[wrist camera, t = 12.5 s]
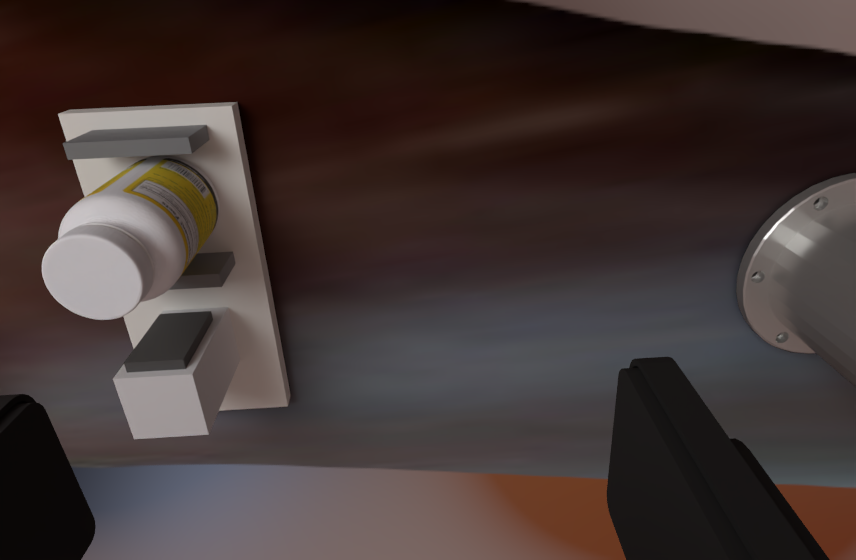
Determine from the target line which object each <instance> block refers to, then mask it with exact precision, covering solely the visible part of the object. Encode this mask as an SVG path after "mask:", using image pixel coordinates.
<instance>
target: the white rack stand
mask: <svg viewBox="0 0 856 560" xmlns="http://www.w3.org/2000/svg"><path fill="white" fill-rule="evenodd" d="M58 116H59V119H60V122H61V125H62V128H63V131H64V134H65V137H66V141H67V142H65V143H63V146H64V149H65V152H66V155H67V158H68V160H73V162H74V165H75V168H76V172H77V175H78V178H79V181H80V184H81V187H82V190H83V193H84V196H85V197H86V196H87V195H89V194H90V193H92V192H93V191H95V190H96V189H97V188H99V187H100V186H102V185H103V184H105V183H106V182H108V181H109V180H110V179H112V178H113V177H115V176H116V175H118V174H119V173H121V172H122V171H124V170H125V169H126V168H128V167H129V166H131V165H132V164H134V163H136V162H138V161H139V160H142V159H144V158H147V157H151V156H158V155H165V156H172V157H177V158H180V159H183V160H185V161H187V162H189V163H191V164H193V165H194V166H196V167H197V168H199V169H200V170H201V171H202V172H203V173H204V174H205V175H206V176H207V177H208V178H209V180H210V181H211V183H212V184H213V186H214V188H215V190H216V192H217V195H218V199H219V206H220V212H219V218H218V221H217V224H216V226H215V228H214V230H213V232H212V233H211V235H210V236H209V238H208V239H207V240H206V242H205V243H204V245H203V246H202V247H201V249H200V250H199V251H198V253H197V254H196V256H195V257H194V258H193V260H192V261H191V262H190V264H189V265H188V267H187V268H186V269H185V271H184V272H183V274H182V275H181V276H180V278H179V279H178V280H177V281H176V283H175V284H174V285H173V286H172V287H171V288H170V289H169V290H168V291H167V292H165V293H164V294H162V295H160V296H158V297H156V298H154V299H151V300H148V301H143V302H140V303H139V304H138V306H137V307H136V308H135V309H134V310H132V311H131V312H130V313H128V314H126V315H125V316H123V317H124V320H125V323H126V326H127V330H128V333H129V336H130V339H131V342H132V345H133V348H134V350H133V351H132V353H131V354H130V355H129V357H128V358H127V359H126V361H125V362H124V365H123V366H122V367H121V369H120V370H119V371H118V373H117V374H116V376H115V377H114V378H113V381H114V384H115V386H116V389H117V392H118V395H119V398H120V401H121V403H122V406H123V409H124V412H125V415H126V418H127V420H128V423H129V426H130V429H131V432H132V435H133V437H134V439H145V438H161V437H177V436H193V435H209V433H210V430H211V428H212V426H213V423H214V421H215V419H216V416H217V414H218V412H219V411H222V410H238V409H254V408H270V407H287V406H288V404H289V400H290V396H291V394H290V389H289V383H288V378H287V372H286V367H285V361H284V356H283V350H282V345H281V339H280V334H279V328H278V323H277V317H276V312H275V306H274V301H273V295H272V290H271V284H270V279H269V273H268V268H267V262H266V257H265V251H264V246H263V240H262V235H261V229H260V224H259V218H258V213H257V207H256V202H255V196H254V191H253V185H252V180H251V174H250V169H249V163H248V158H247V153H246V147H245V142H244V136H243V131H242V125H241V120H240V114H239V109H238V103H237V102H228V103H206V104H185V105H163V106H141V107H120V108H98V109H76V110H68V111H65V112H62V113H59V114H58Z"/></svg>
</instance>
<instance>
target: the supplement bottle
mask: <svg viewBox="0 0 856 560" xmlns="http://www.w3.org/2000/svg"><path fill="white" fill-rule="evenodd" d="M219 212H220V206H219V199H218V195H217V192H216V190H215V188H214V186H213V184H212V183H211V181H210V180H209V178H208V177H207V176H206V175H205V174H204V173H203V172H202V171H201V170H200V169H199V168H197V167H196V166H194V165H193V164H191V163H189V162H187V161H185V160H183V159H180V158H177V157H172V156H165V155H158V156H151V157H147V158H144V159H142V160H139V161H138V162H136V163H134V164H132V165H131V166H129V167H128V168H126V169H125V170H124V171H122V172H121V173H119V174H118V175H116V176H115V177H113V178H112V179H110V180H109V181H108V182H106V183H105V184H103V185H102V186H100V187H99V188H97V189H96V190H95V191H93V192H92V193H90V194H89V195H87V196H86V197H84V198H83V199H81V200H80V201H79V202H77V203H76V204H75V205H74V206H73V207H72V208H71V209H70V210H69V211H68V212H67V214H66V215H65V217H64V218H63V220H62V222H61V225H60V228H59V234H58V240H57V241H55V242H54V243H53V244H52V245H51V246H50V247H49V248H48V250H47V251H46V253H45V255H44V257H43V261H42V276H43V279H44V282H45V285H46V287H47V288H48V290H49V292H50V293H51V294H52V296H53V297H54V298H55V299H56V300H57V301H58V302H59V303H60V304H61V305H63V306H64V307H65V308H67V309H68V310H70V311H72V312H74V313H76V314H78V315H80V316H83V317H87V318H91V319H97V320H110V319H116V318H119V317H122V316H125V315H126V314H128V313H130V312H131V311H132V310H134V309H135V308H136V307H137V306H138V304H139V303H140V302H143V301H148V300H151V299H154V298H156V297H158V296H160V295H162V294H164V293H165V292H167V291H168V290H169V289H170V288H171V287H172V286H173V285H174V284H175V283H176V281H177V280H178V279H179V278H180V276H181V275H182V274H183V272H184V271H185V269H186V268H187V267H188V265H189V264H190V262H191V261H192V260H193V258H194V257H195V256H196V254H197V253H198V251H199V250H200V249H201V247H202V246H203V245H204V243H205V242H206V240H207V239H208V238H209V236H210V235H211V233H212V232H213V230H214V228H215V226H216V224H217V221H218V218H219Z"/></svg>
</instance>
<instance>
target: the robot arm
mask: <svg viewBox="0 0 856 560" xmlns="http://www.w3.org/2000/svg"><path fill="white" fill-rule="evenodd" d="M736 294H737V300H738V306H739V309H740V311H741V313H742V316H743V318H744V320H745V321H746V322H747V324H748V325H749V326H750V327H751V329H752V330H753V331H754V332H756V333H757V334H758V335H759V336H760V337H761V338H762V339H763V340H764V341H766V342H768V343H769V344H771V345H772V346H774V347H777V348H780V349H783V350H786V351H789V352H796V353H805V354H809V353H817V354H818V355H819V356H820V357H821V358H822V359H824V360H825V361H826V362H827V363H828V364H829V365H831V366H832V367H833V368H834V369H835V370H836V371H838V372H839V373H840V374H841V375H842V376H843V377H845V378H846V379H847V380H848V381H849V382H850V383H852V384H853V385H854V386H855V387H856V173H851V174H847V175H843V176H838V177H834V178H831V179H828V180H826V181H823V182H821V183H818V184H816V185H814V186H812V187H810V188H808V189H806V190H805V191H803V192H801V193H800V194H798V195H796V196H794V197H793V198H792V199H790V200H789V201H788V202H787V203H785V204H784V205H783V206H782V207H780V208H779V209H778V210H777V211H776V212H775V213H774V214H773V215H772V216H771V217H770V218H769V219H768V220H767V221H766V222H765V223H764V224H763V225H762V226H761V228H760V229H759V231H758V232H757V234H756V235H755V236H754V238H753V239H752V241H751V242H750V244H749V246H748V248H747V250H746V252H745V254H744V256H743V258H742V261H741V265H740V268H739V272H738V275H737V288H736ZM607 486H608V487H607V503H608V508H609V512H610V516H611V519H612V522H613V524H614V527H615V530H616V533H617V535H618V538H619V541H620V543H621V546H622V549H623V552H624V554H625V557H626V560H829V558H828V557H827V556H826V554H825V553H824V551H823V550H822V549H821V547H820V546H819V545H818V543H817V542H816V541H815V539H814V538H813V536H812V535H811V534H810V532H809V531H808V529H807V528H806V527H805V525H804V524H803V523H802V521H801V520H800V519H799V517H798V516H797V514H796V513H795V512H794V510H793V509H792V508H791V506H790V505H789V503H788V502H787V501H786V500H785V498H784V497H783V495H782V494H781V493H780V491H779V490H778V488H777V487H776V486H775V484H774V483H773V482H772V480H771V479H770V477H769V476H768V475H767V473H766V472H765V471H764V469H763V468H762V466H761V465H760V464H759V462H758V461H757V460H756V458H755V457H754V456H753V454H752V453H751V451H750V450H749V449H748V448H747V447H746V446H745V445H744V444H743V443H742V442H741V441H739V440H737V439H729V437H728V436H727V435H726V433H725V432H724V430H723V429H722V427H721V426H720V425H719V423H718V422H717V420H716V419H715V417H714V416H713V415H712V413H711V412H710V410H709V409H708V407H707V406H706V405H705V403H704V402H703V400H702V399H701V398H700V396H699V395H698V393H697V392H696V390H695V389H694V388H693V386H692V385H691V383H690V382H689V380H688V379H687V378H686V376H685V375H684V373H683V372H682V371H681V369H680V368H679V366H678V365H677V363H676V362H675V361H674V360H673V359H672V358H670V357H658V358H641V359H634V360H632V362H631V364H630V368H626V369H621V370H620V372H619V376H618V386H617V396H616V406H615V416H614V426H613V435H612V445H611V455H610V465H609V475H608V485H607ZM94 534H95V520H94V517H93V515H92V512H91V510H90V508H89V506H88V504H87V501H86V499H85V497H84V495H83V492H82V490H81V488H80V486H79V484H78V482H77V479H76V477H75V475H74V473H73V470H72V468H71V466H70V464H69V461H68V459H67V457H66V455H65V452H64V450H63V448H62V446H61V443H60V441H59V439H58V437H57V435H56V432H55V430H54V428H53V426H52V423H51V421H50V419H49V417H48V415H47V412H46V410H45V409H44V407H43V406H42V405H41V404H39V403H36V402H35V400H34V399H33V398H32V397H30V396H29V395H24V394H18V395H1V396H0V560H81V559H82V557H83V555H84V554H85V552H86V551H87V549H88V547H89V546H90V544H91V542H92V540H93V537H94Z"/></svg>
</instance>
